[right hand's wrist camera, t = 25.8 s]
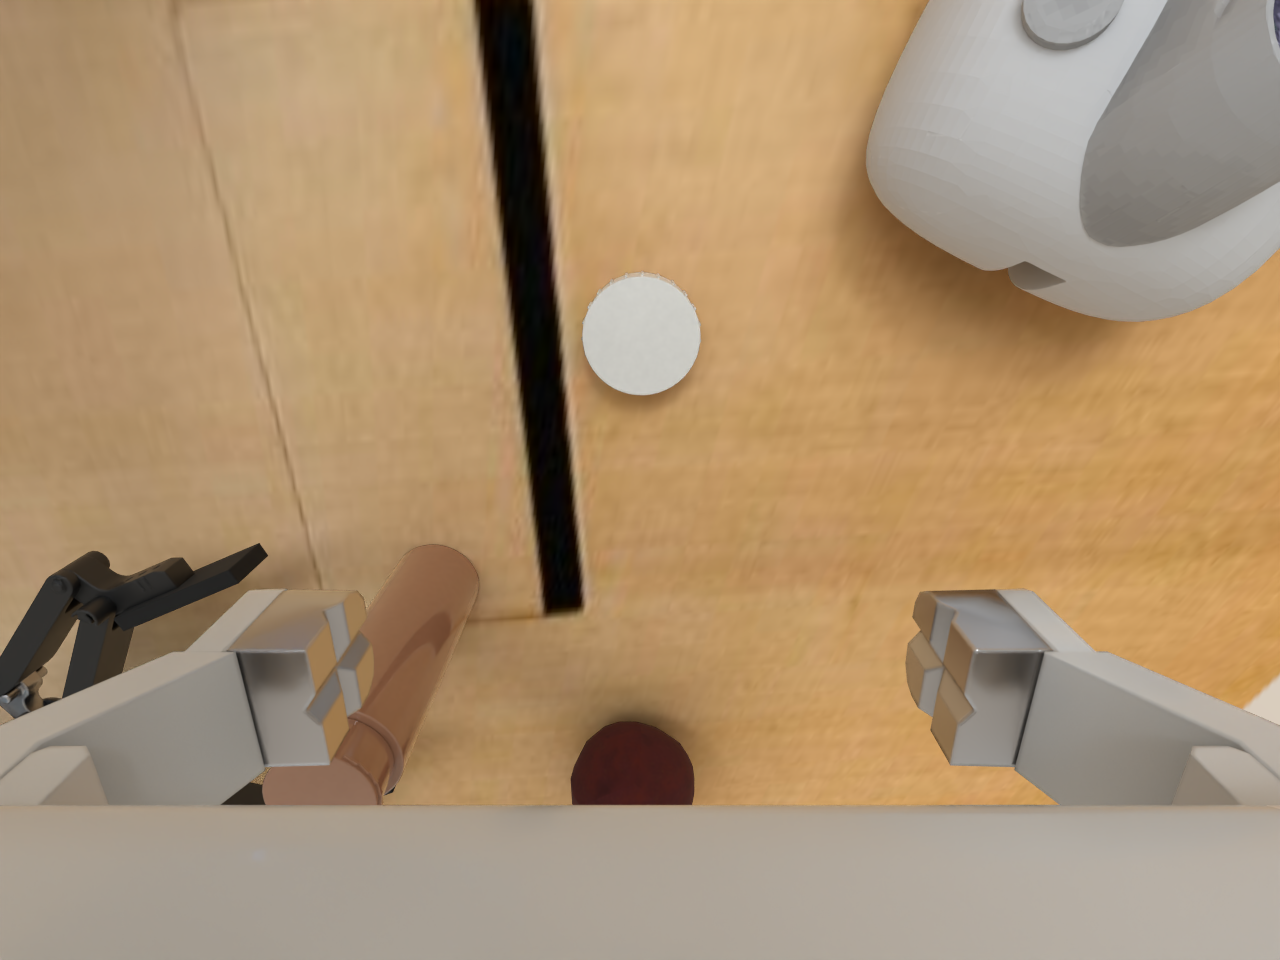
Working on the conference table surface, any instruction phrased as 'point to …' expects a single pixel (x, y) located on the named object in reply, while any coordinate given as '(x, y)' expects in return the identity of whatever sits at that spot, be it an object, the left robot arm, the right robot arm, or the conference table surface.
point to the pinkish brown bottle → (391, 681)
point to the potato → (632, 768)
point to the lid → (641, 333)
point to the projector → (1090, 146)
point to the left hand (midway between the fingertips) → (329, 671)
